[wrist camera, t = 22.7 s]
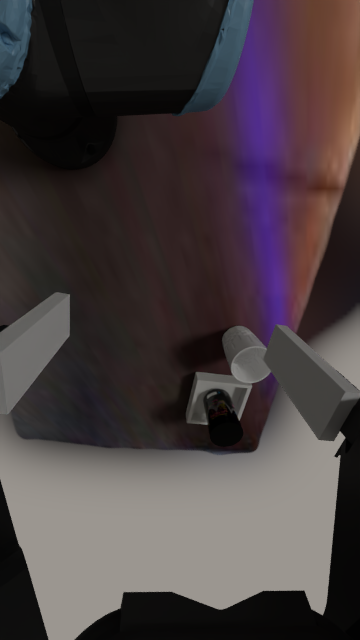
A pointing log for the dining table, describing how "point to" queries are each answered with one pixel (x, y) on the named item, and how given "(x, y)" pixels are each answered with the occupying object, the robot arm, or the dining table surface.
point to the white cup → (245, 354)
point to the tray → (209, 382)
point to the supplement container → (222, 418)
